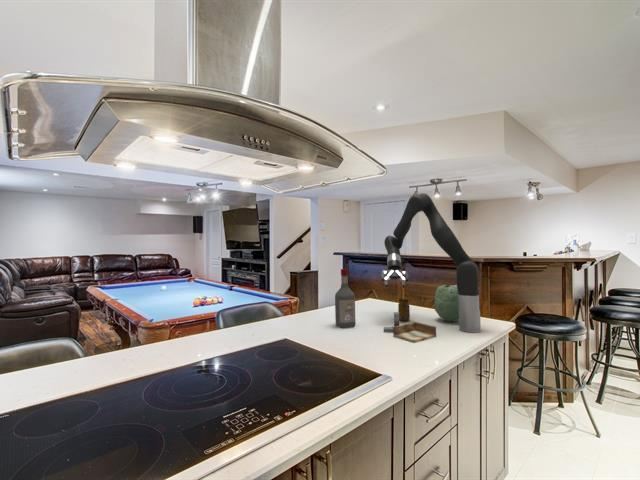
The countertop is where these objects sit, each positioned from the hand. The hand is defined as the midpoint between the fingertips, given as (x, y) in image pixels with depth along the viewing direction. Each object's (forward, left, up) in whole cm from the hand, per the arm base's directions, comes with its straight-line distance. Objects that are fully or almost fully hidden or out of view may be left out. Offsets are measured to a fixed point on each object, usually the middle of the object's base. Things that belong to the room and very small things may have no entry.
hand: (395, 286), depth 170 cm
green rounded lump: (-30, +11, -21) cm, 38 cm away
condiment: (-12, -5, -21) cm, 24 cm away
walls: (+8, +19, -20) cm, 29 cm away
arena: (+8, +19, -20) cm, 29 cm away
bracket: (+10, +6, -20) cm, 24 cm away
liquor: (+21, -16, -21) cm, 33 cm away
